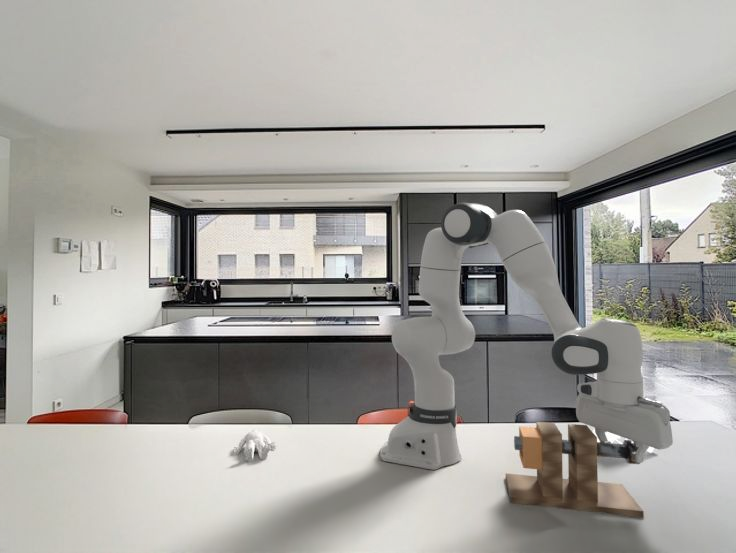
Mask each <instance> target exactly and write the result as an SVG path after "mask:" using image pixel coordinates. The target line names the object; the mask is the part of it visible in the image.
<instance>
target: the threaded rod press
mask: <svg viewBox="0 0 736 553" xmlns="http://www.w3.org/2000/svg"><path fill="white" fill-rule="evenodd" d="M535 428H537V429H538V431H539V433H540V435H541V437H542V468H543V470H539V469H536V475H524V474H514V473H507V472H506V473H505V481H506V482H505V483H506V486H507V489H508V490H507V491H508V495H509V500H510V503H511V504H518V505H519V504H520V505H530V506H536V507H537V506H538V507H547V508H556V509H565V510H574V511H583V512H584V511H585V512H593V513H603V514H610V515H611V514H612V515H620V516H630V517H638V518H644V516H645V515H644V510H643V508H642V507H641V506H640V505H639V504H638V503H637V501H636V500H635V499H634V497H633V496H632V494H631V493H629V491H628V490H627V488H626V486H624V484H622V483H612V482H605V481H603V482H601V481H598V480H599V479H598V473H599V472H598V457H597V437H596V436H595V434H594V433H593V432H592V431H593V430H591V429H590V428H589V425H586V424H575V423H572V424H571V423H568V424H567V440H574V441H575V455H572V454H567V456H568V457H567V459H568V462H567V463H568V464H567V465H568V478H563V454H562V440H563V434H562V433H561V431H560V430H559V428H558V426H557V425H556V423H554V422H545V421H544V422H542V421H536V427H535Z"/></svg>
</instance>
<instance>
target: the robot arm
mask: <svg viewBox="0 0 736 553" xmlns="http://www.w3.org/2000/svg"><path fill="white" fill-rule="evenodd" d="M488 244H489V245H491V246H492V247H493V248H494V249H495V251H496V252H497V255H498V257H499V259H500V261H501V263H502V264H503V267H504V268H505V270H506V272H507V274H508V275H509V277H510V278H511V280H512V281H513V282H514V283H515V285H517V287H518V288H520V289H521V290H522V291H524V292H525V293H527V294H528V295H529V296H531V298H533V300H534V301H535V302H536V303H537V305H538V307H540V310H541V312H542V314H543V316H544V317H545V319H546V321H547V323H548V325H549V326H550V327H549V328H550V329H551V332H552V335H553V339H554V340H553V345H552V348H551V358H552V360H553V363H554V365H555V366H556V368H558V369H559V370H561V372H564V373H566V374H569V375H575V376H576V375H577V376H580V375H581V376H583V375H590V374H596V380H593V381H588V382H583V383H582V382H581V383H578V384H577V387H576V389H577V392H578V393H579V394H577V396H576V402H575V403H576V404H575V405H576V406H575V414H576V418H577V420H578V422H579V423H581V424H583V425H587V426H588V427H589V426H590V427H593V428H594V429H595V433H596V435H597V437H598V439H599V441H600V442H601V443H611V442H610V441H608V440H607V437H606V435H605V432H610V433H612V434H615V435H618V436H620V438H621V437H622V438H624V439H626V438H627V440H633V441H636V447H639V448H638V450H637V451H636V452H632V453H631V456H632V458H631V459H632V461H635V462H637V463H640V464H641V463H643V462H644V454H645V453H646V452H648V451H647V449H648V448H649V446H650V447H653V448H654V449H657V450H661V451H662V450H665V449H668V448H670V447H671V446H672V445H673V443H674V442H673V440H674V439H673V431H672V426H671V425H672V424H671V413H670V410H669V409H668V407H666V406H665V405H664V404H663V403H662V402H661V401H657V400H651V399H649V398H646V397H644V377H643V374H642V365H643V362H644V358H643V355H644V353H643V352H644V351H643V343H642V342H643V341H642V335H641V332H640V328H639V327H637V326H636V325H635V324H634V323H632V322H630V321H626V320H623V319H618V318H611V317H602V318H599V320H596V322H593V323H592V324H589V325H587V326H585V327H583V325H582V324H580V323H579V321H578V320H577V319H576V316H575V315H574V313H573V311H572V310H571V308H570V306H569V303H568V301H567V299H566V298H565V296H564V294H563V292H562V289H561V286H560V282H559V277H558V273H557V268H556V265H555V261H554V258H553V256H552V253H551V250H550V248H549V246H548V244H547V243H546V241H545V238H544V237H543V235H542V233H541V231H540V230H539V229H538V227H537V226H536V224H535V223H534V222H533V221H532V219H531V217H529V216H528V214H526V212H524V211H522V210H520V209H509V210H506V211H504V212H502V213H498V211H497V210H496V209H494V208H493V207H490V206H488V205H485V204H481V203H477V202H472V203H471V202H459V203H456V204H453V205H451V206H450V207H448V208H447V209H446V210H445V212H444V213H443V214H442V218H441V222H440V227H436V228H432V229H431V230H430V231H428V233H427V234H426V236H425V239H424V243H423V246H422V253H421V258H420V267H419V268H420V269H419V277H418V278H419V279H418V280H419V281H418V294H419V296H420V297H421V299H422V300H423V301H424V302H426V303H427V304H429V305H430V308H431V316H417V317H409V318H406V319H403V320H399V321H398V322H397V323H395V326H394V327H393V329H392V332H391V342H392V346H393V348H394V350H395V352H396V353H397V354H399V356H401V357H402V358H403V359H404V360H405V361H406V362H407V364H408V366H409V367H410V370H411V373H412V376H413V382H414V383H413V386H414V400H410V401H409V402H408V403H407V416H406V417H405V418H404V419H402V420H400V421H399V422H398V423H397V424H395V425H394V426H393V427H392V428H391V430H390V433H389V435H388V439H387V441H386V442H384V443H383V444H382V446H381V448H380V451H379V458H380V459H381V460H382V461H383V462H389V463H392V464H393V463H394V464H399V465H406V466H409V467H416V468H422V469H427V470H434V471H435V470H439V469H440V468H442V467H445V466H451V465H454V464H456V463H458V462H459V461H460V460H461V459H462V455H461V451H460V448H459V444H458V438H457V430H456V429H457V422H458V421H457V420H458V419H457V418H458V417H457V416H458V413H457V412H458V410H457V406H456V404H455V399H456V398H455V379H454V377H453V375H452V374H451V373H450V372H449V371H447V370H446V369H444V368H442V366H441V364H440V363H441V362H440V359H439V358H440V356H445V355H454V354H455V355H456V354H458V353H461V352H464V351H467V350H470V348H472V347H473V345H474V343H475V340H476V330H475V327H474V325H473V324H472V322H471V320H469V319H468V318H467V317H466V315H465V314H464V311H463V310H462V309H463V308H462V307H461V306H462V305H461V302H460V281H461V268H462V258H463V254H464V252H465V251H466V250H467V248H469V249H473V248H476V247H480V246H485V245H488Z"/></svg>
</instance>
